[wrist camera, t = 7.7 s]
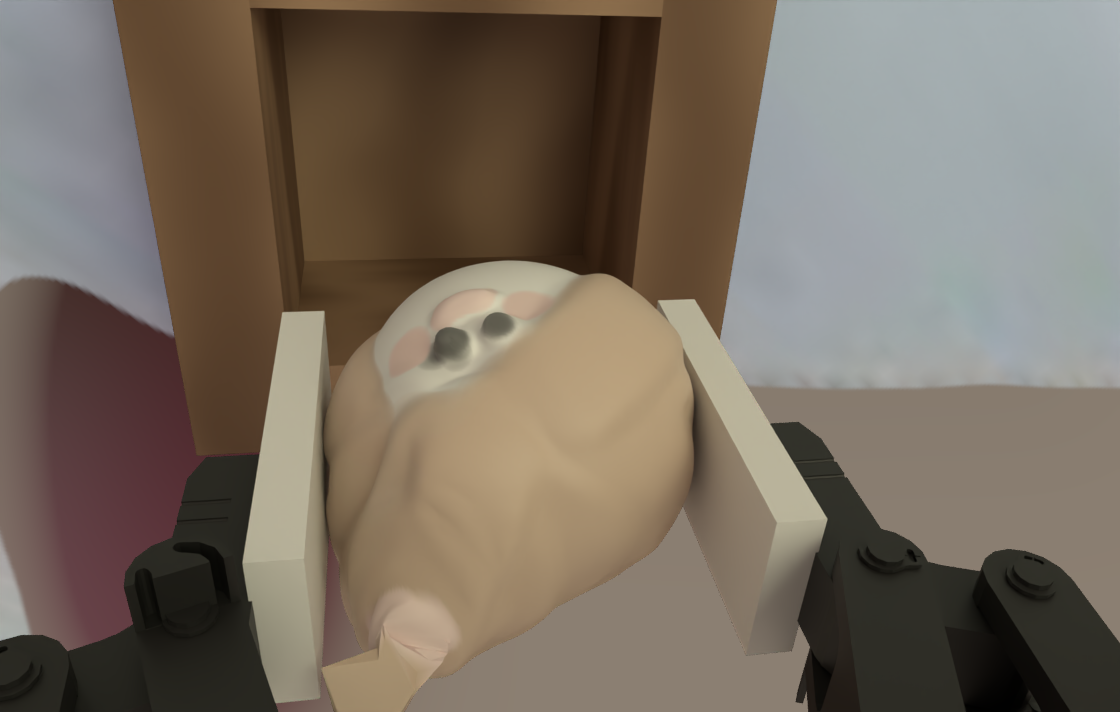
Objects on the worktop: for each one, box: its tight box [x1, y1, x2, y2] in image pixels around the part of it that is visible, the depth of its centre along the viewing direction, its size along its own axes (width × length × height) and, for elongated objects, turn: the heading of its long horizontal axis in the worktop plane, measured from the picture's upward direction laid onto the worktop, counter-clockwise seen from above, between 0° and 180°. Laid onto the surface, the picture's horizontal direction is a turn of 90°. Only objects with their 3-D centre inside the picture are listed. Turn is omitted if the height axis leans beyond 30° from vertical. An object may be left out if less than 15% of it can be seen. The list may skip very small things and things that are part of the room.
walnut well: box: [113, 0, 777, 456], centre depth 29 cm, size 16×16×8 cm
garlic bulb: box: [321, 261, 694, 712], centre depth 16 cm, size 7×6×8 cm
